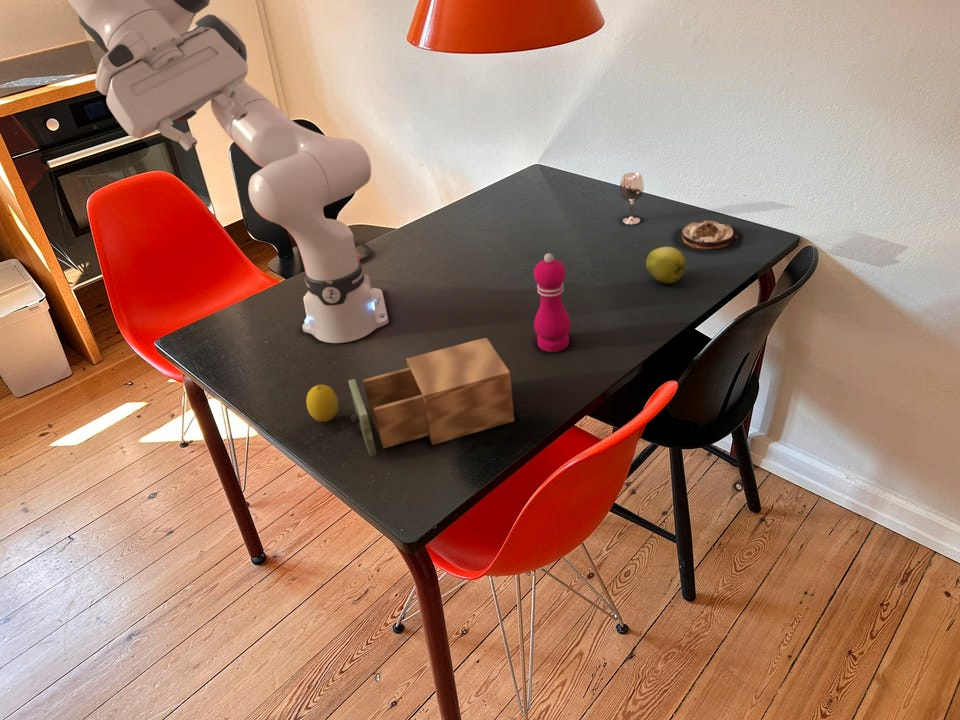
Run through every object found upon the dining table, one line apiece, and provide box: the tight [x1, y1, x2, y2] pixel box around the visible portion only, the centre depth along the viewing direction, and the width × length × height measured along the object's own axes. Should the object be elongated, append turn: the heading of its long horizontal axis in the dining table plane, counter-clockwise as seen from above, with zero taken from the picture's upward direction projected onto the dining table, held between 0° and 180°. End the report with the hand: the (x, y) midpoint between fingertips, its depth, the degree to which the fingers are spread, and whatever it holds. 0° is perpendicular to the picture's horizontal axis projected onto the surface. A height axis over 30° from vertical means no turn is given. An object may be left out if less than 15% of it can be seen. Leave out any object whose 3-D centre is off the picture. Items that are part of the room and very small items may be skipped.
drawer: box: [347, 367, 430, 457], centre depth 132 cm, size 15×11×9 cm
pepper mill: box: [533, 252, 572, 353], centre depth 148 cm, size 7×7×20 cm
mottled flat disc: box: [680, 219, 739, 251], centre depth 184 cm, size 15×15×4 cm
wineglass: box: [619, 172, 645, 225], centre depth 194 cm, size 6×6×12 cm
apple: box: [645, 246, 687, 285], centre depth 167 cm, size 8×9×8 cm
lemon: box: [305, 384, 339, 423], centre depth 138 cm, size 6×6×8 cm
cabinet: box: [405, 337, 515, 446], centre depth 135 cm, size 15×12×11 cm
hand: (218, 131), depth 108 cm, fingers open, 8 cm apart
